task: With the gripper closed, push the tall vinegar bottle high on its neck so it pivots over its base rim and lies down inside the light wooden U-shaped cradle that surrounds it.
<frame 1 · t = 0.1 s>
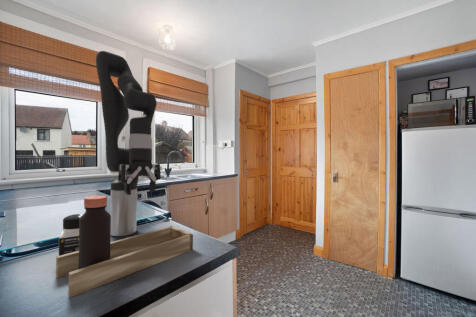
hand: (140, 193, 78), 17 cm above the counter, tool pointing down, fingers open, 8 cm apart
vinegar: (94, 275, 57), on the counter
u rest: (133, 261, 64), on the counter
medicine bottle: (75, 255, 68), on the counter
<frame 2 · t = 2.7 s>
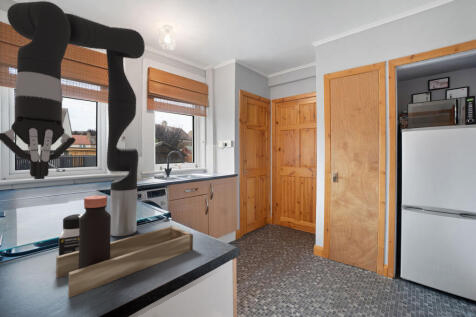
hand: (39, 178, 48), 25 cm above the counter, tool pointing down, fingers closed
nothing on the counter moved.
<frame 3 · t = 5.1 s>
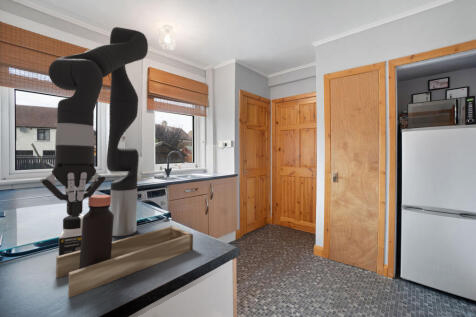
hand: (74, 216, 53), 16 cm above the counter, tool pointing down, fingers closed
vinegar: (94, 275, 57), on the counter, touching gripper
everything else where it was.
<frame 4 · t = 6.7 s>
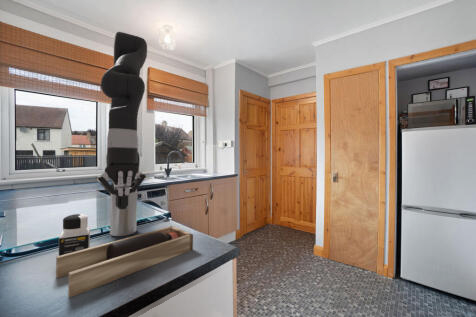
hand: (121, 208, 61), 16 cm above the counter, tool pointing down, fingers closed
vinegar: (110, 256, 60), point 3 cm above the counter
everything else where it was.
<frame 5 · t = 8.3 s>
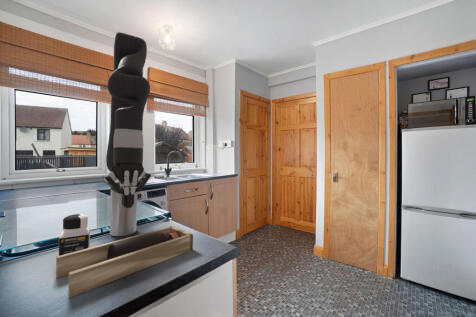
hand: (127, 207, 63), 16 cm above the counter, tool pointing down, fingers closed
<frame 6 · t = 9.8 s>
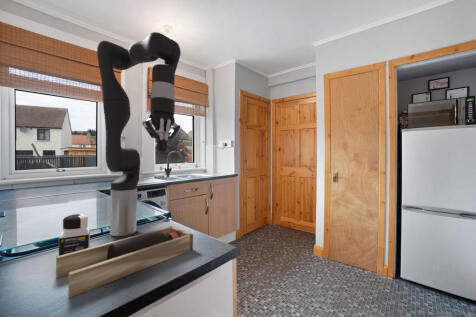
hand: (161, 151, 72), 32 cm above the counter, tool pointing down, fingers closed
nothing on the counter moved.
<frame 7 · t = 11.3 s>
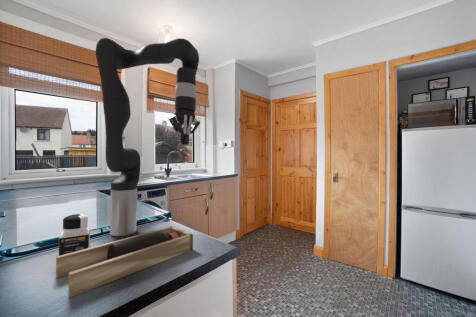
hand: (184, 144, 82), 35 cm above the counter, tool pointing down, fingers closed
nothing on the counter moved.
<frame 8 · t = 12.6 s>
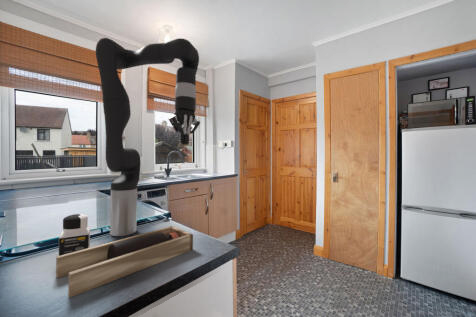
hand: (184, 144, 82), 35 cm above the counter, tool pointing down, fingers closed
nothing on the counter moved.
at the end: vinegar tilted 93°; vinegar inside the target area on the u rest (0.4 cm from its centre), point 3.4 cm above the u rest's base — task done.
